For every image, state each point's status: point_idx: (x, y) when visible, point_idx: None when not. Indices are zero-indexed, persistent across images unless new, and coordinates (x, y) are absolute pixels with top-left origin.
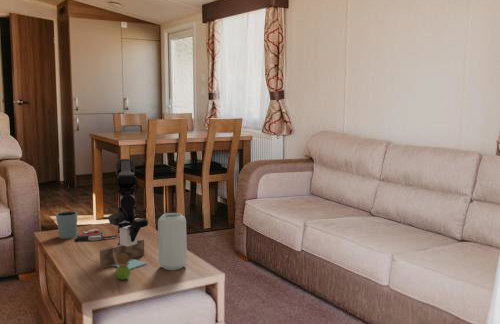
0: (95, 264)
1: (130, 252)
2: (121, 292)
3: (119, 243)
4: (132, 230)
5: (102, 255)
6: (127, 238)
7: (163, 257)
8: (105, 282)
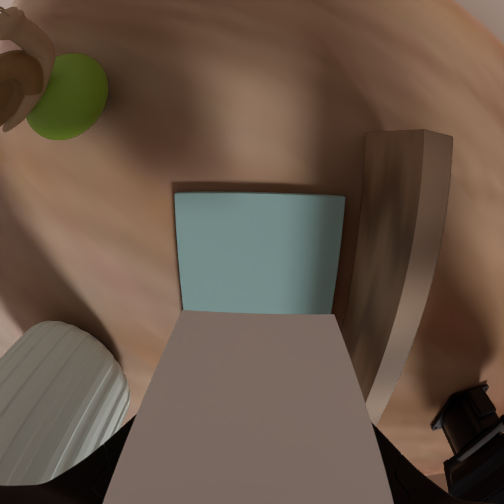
0: None
1: None
2: (9, 40)
3: (482, 388)
4: (37, 488)
5: (403, 136)
6: (151, 387)
7: (26, 346)
8: (128, 11)
